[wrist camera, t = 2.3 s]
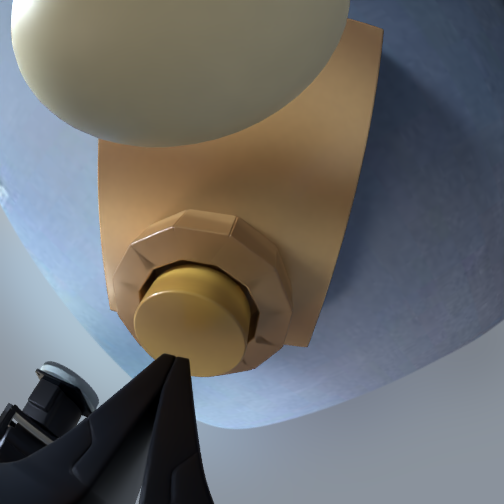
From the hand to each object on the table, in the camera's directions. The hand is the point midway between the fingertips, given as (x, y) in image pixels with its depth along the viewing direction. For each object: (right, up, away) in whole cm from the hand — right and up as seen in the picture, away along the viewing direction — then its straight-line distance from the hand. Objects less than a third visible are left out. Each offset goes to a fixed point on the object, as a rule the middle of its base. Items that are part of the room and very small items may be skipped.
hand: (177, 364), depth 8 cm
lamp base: (+1, +7, +4) cm, 8 cm away
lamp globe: (+2, +9, -2) cm, 9 cm away
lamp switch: (0, +1, +3) cm, 3 cm away
